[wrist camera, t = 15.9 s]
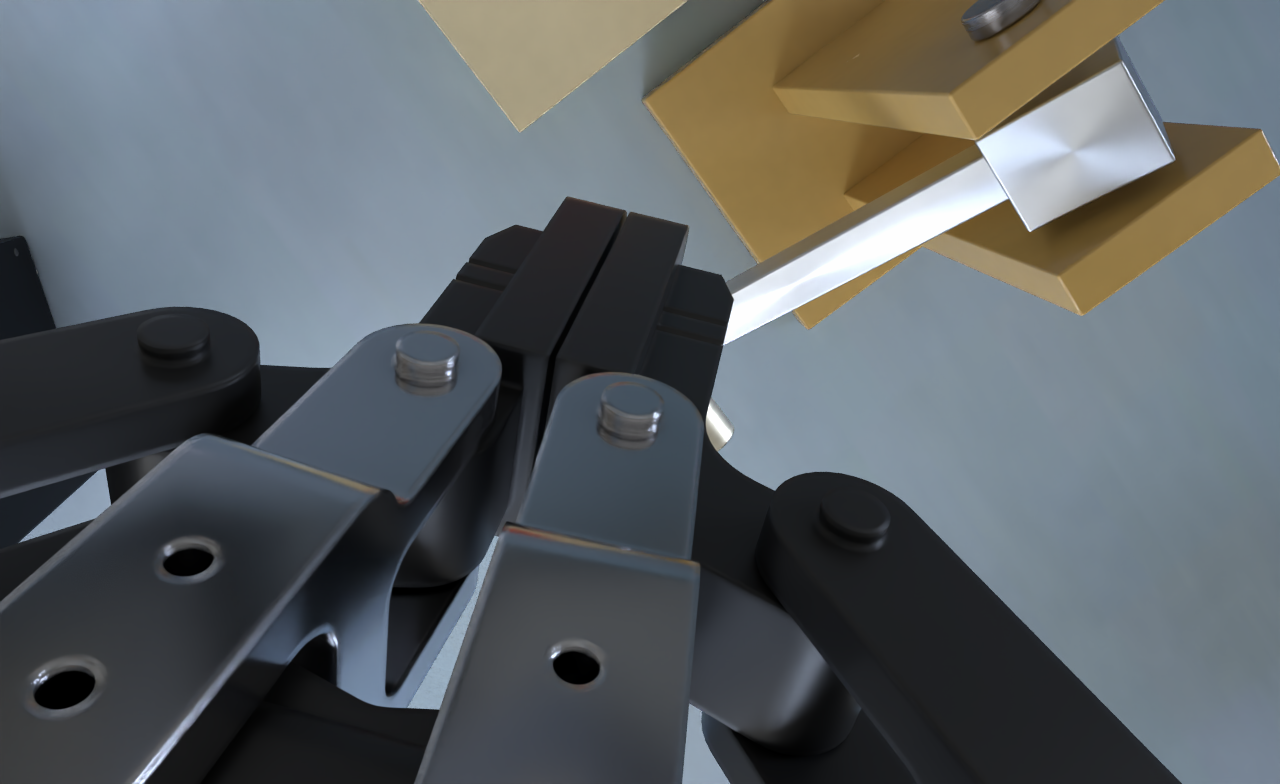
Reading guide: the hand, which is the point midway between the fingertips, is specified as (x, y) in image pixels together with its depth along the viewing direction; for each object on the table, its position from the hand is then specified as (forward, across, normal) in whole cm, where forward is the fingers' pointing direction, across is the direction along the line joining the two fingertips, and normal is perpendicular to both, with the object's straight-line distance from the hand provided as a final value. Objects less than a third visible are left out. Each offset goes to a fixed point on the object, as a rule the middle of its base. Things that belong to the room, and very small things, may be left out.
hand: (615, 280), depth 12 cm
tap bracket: (+22, -4, +4) cm, 22 cm away
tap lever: (+11, -4, +3) cm, 12 cm away
